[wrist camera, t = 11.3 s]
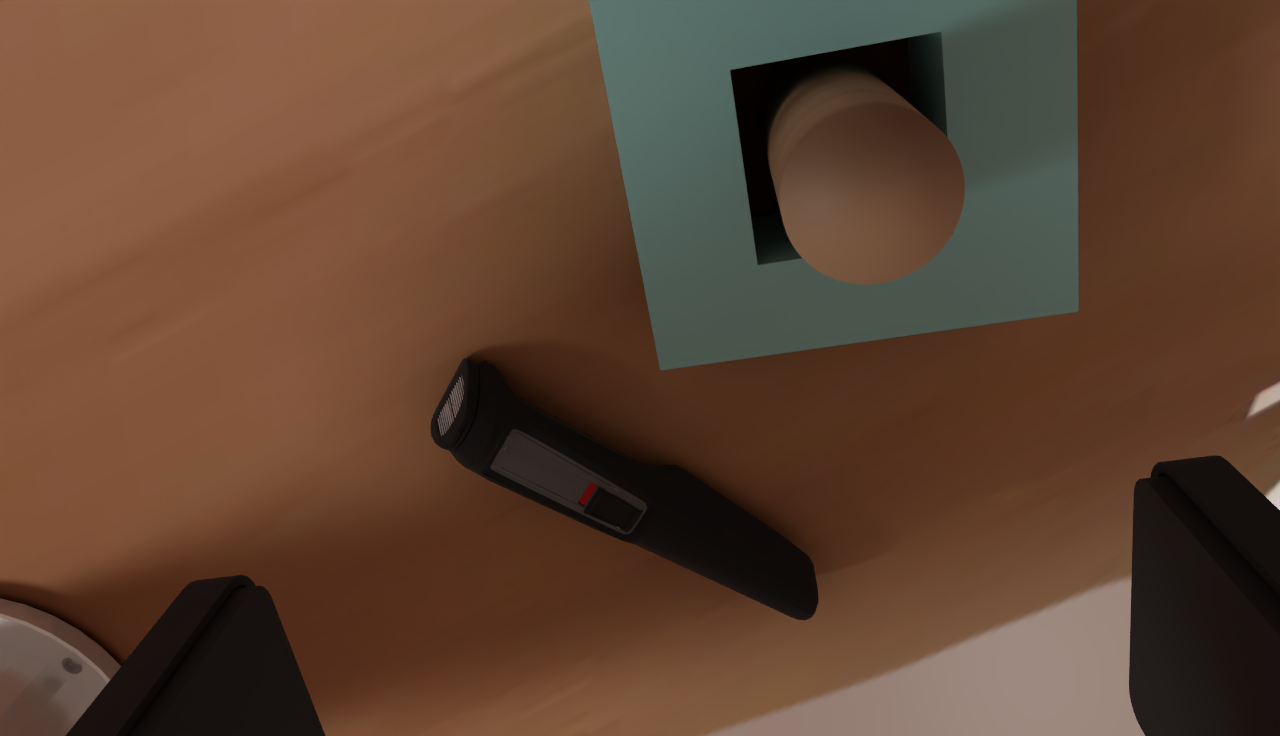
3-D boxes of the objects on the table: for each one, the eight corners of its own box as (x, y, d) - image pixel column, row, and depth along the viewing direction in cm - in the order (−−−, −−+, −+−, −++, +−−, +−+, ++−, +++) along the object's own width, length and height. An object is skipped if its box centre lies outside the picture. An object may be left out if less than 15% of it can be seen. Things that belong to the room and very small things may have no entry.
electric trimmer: (777, 601, 39) (784, 655, 36) (428, 422, 36) (405, 465, 33) (831, 534, 37) (842, 585, 34) (471, 343, 35) (450, 380, 32)
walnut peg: (894, 172, 31) (969, 270, 22) (769, 192, 31) (791, 296, 22) (883, 43, 29) (960, 91, 20) (752, 67, 30) (769, 123, 21)
